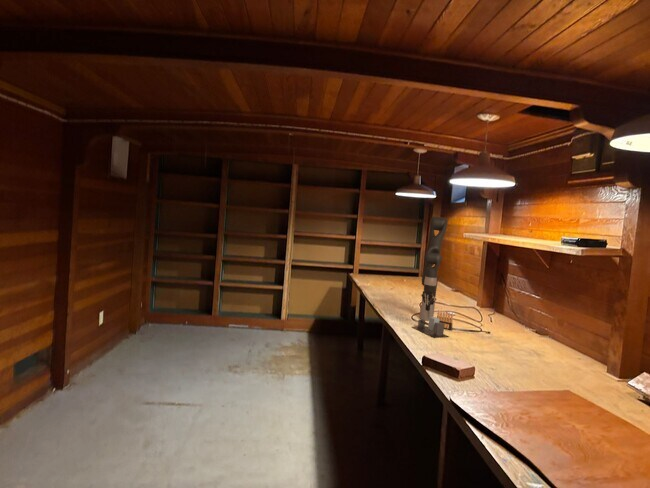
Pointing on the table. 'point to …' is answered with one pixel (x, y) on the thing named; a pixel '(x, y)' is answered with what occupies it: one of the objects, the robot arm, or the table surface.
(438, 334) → the dark grey mounting base
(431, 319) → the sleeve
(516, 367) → the table surface
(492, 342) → the table surface
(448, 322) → the ammunition clip
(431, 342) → the table surface
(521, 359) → the table surface
